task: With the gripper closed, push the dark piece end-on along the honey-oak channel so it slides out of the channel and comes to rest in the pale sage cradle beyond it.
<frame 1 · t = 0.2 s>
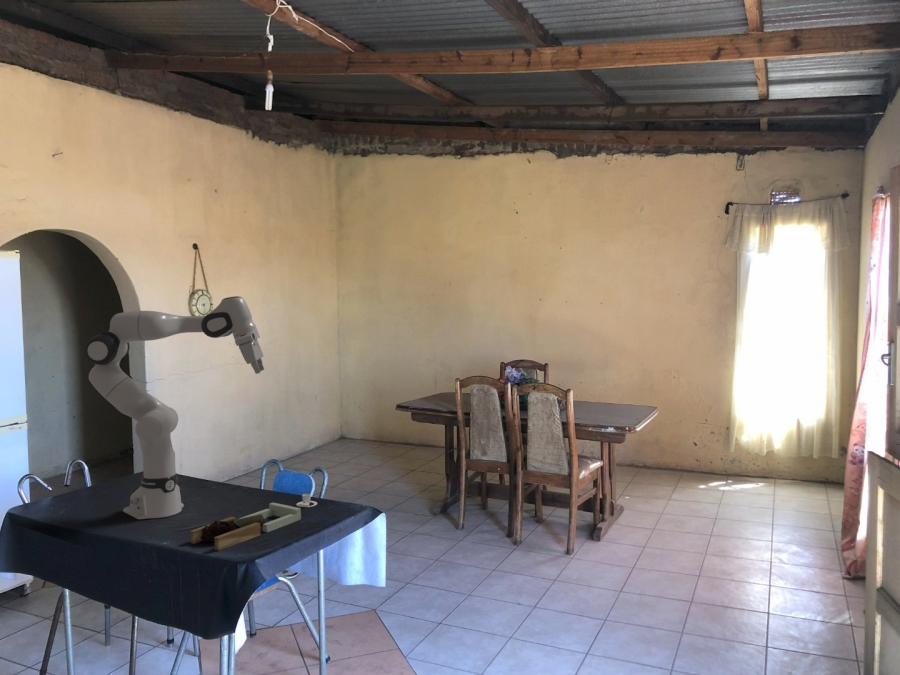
hand: (260, 371, 260), 52 cm above the table, tool tilted 20°, fingers open, 8 cm apart
oak channel: (226, 538, 229), on the table
dark piece: (234, 537, 232), on the table
sage cradle: (268, 523, 245), on the table
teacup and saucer: (298, 506, 266), on the table
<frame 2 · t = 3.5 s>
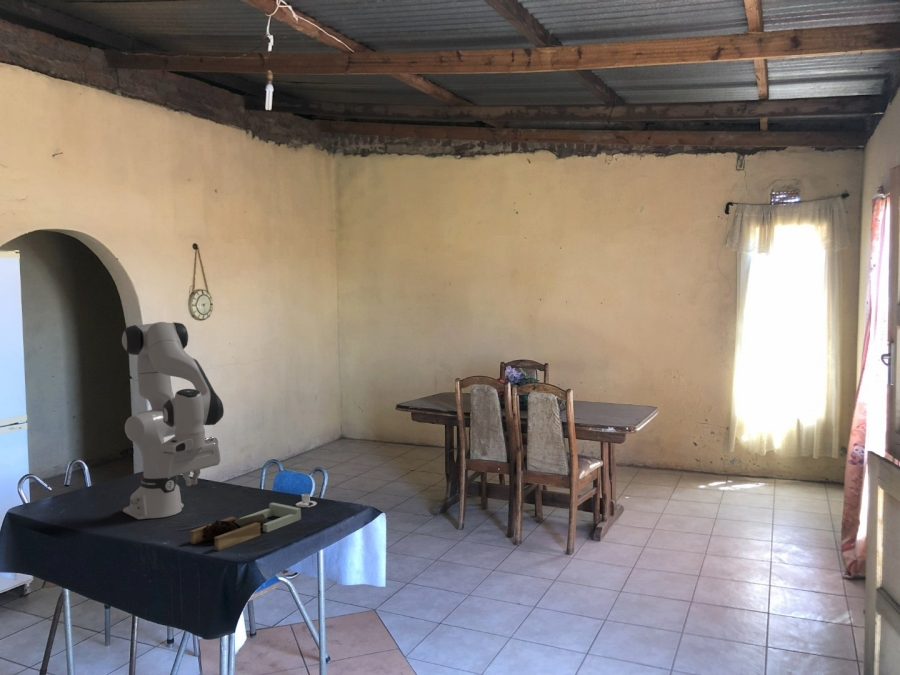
hand: (191, 485, 218), 21 cm above the table, tool pointing down, fingers closed
nothing on the table moved.
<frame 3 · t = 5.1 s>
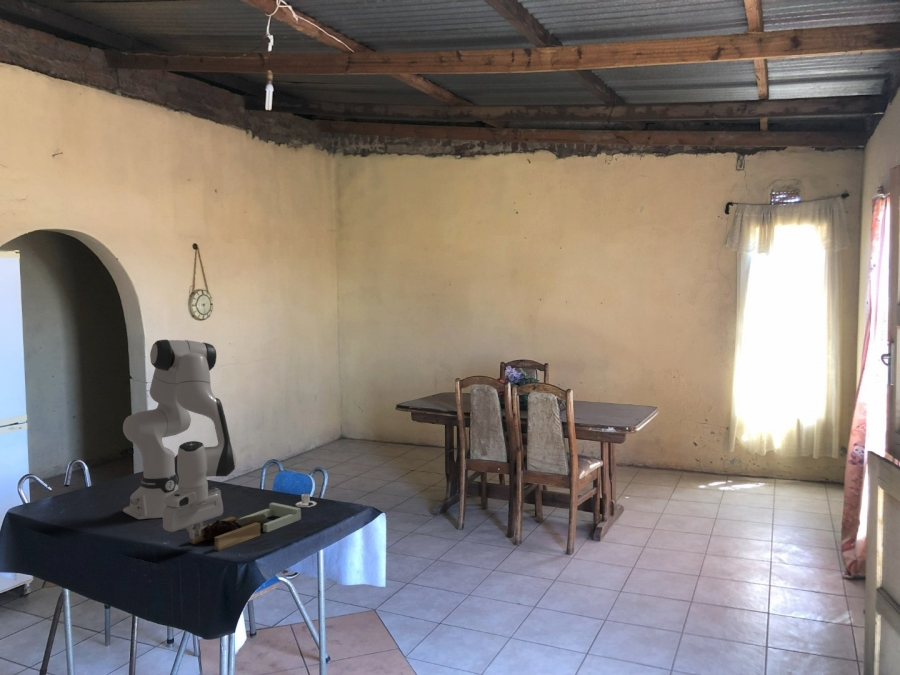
hand: (195, 537, 218), 4 cm above the table, tool pointing down, fingers closed
nothing on the table moved.
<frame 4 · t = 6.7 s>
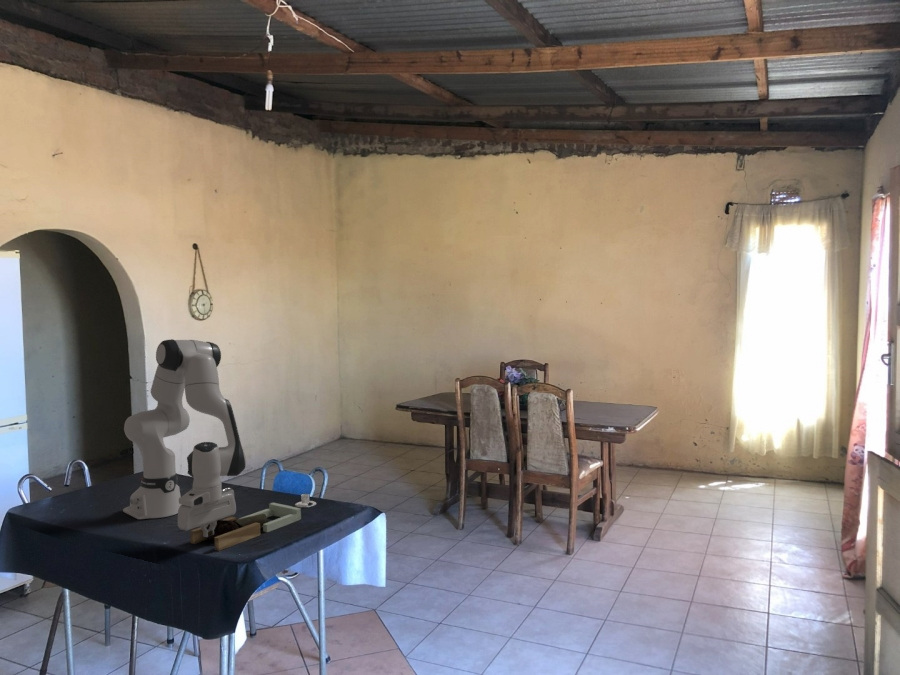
hand: (208, 535, 224), 3 cm above the table, tool pointing down, fingers closed
dark piece: (237, 536, 233), on the table, touching gripper, oak channel
everything else where it was.
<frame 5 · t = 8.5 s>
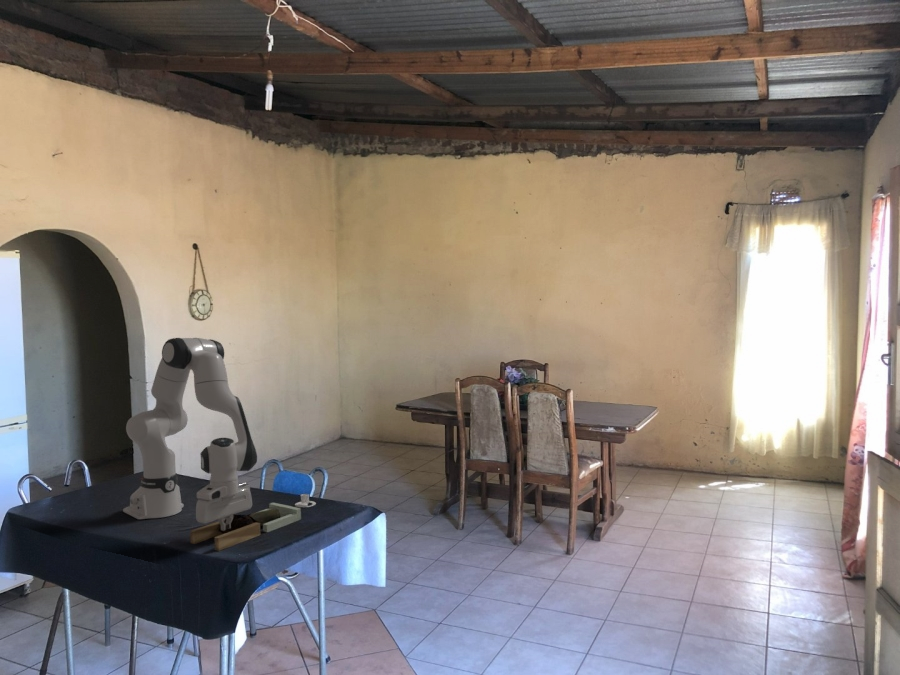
hand: (225, 529, 229), 3 cm above the table, tool pointing down, fingers closed
dark piece: (250, 530, 238), on the table, touching gripper
everything else where it was.
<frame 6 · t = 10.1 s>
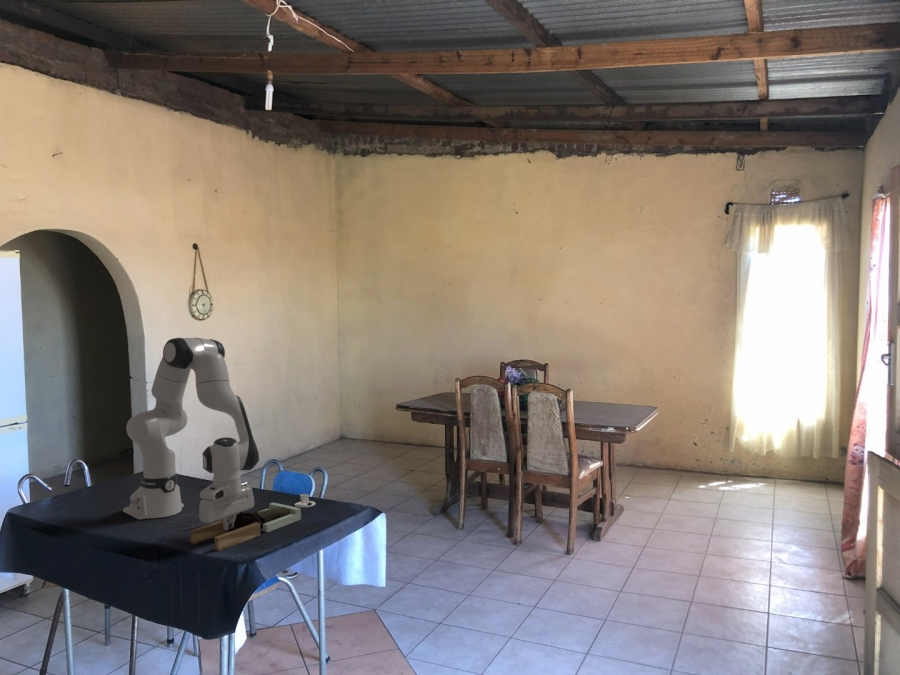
hand: (228, 528, 230), 3 cm above the table, tool pointing down, fingers closed
dark piece: (258, 528, 241), on the table
everything else where it was.
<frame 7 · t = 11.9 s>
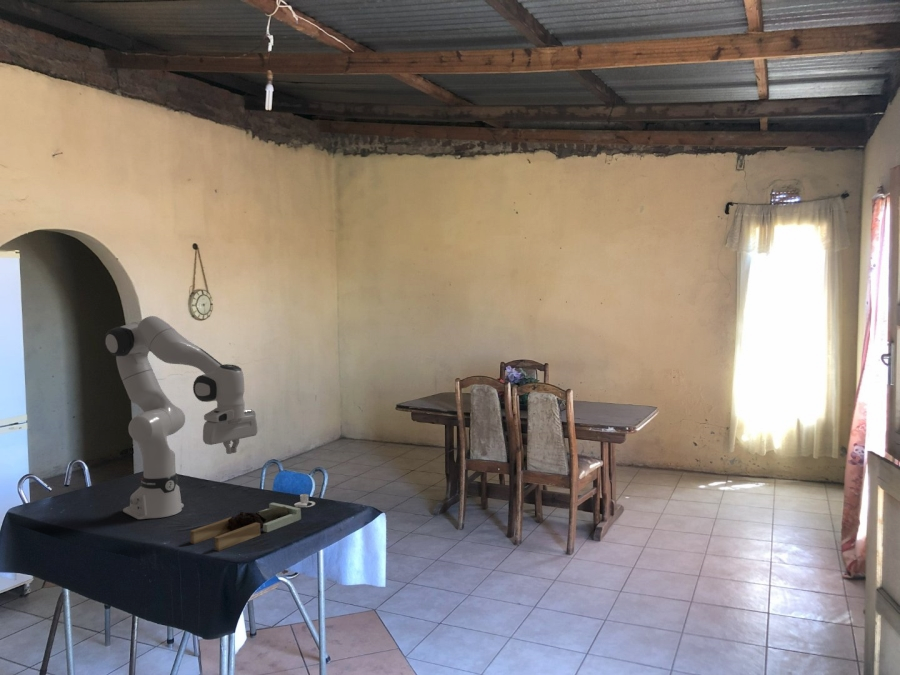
hand: (231, 453, 235), 27 cm above the table, tool pointing down, fingers closed
nothing on the table moved.
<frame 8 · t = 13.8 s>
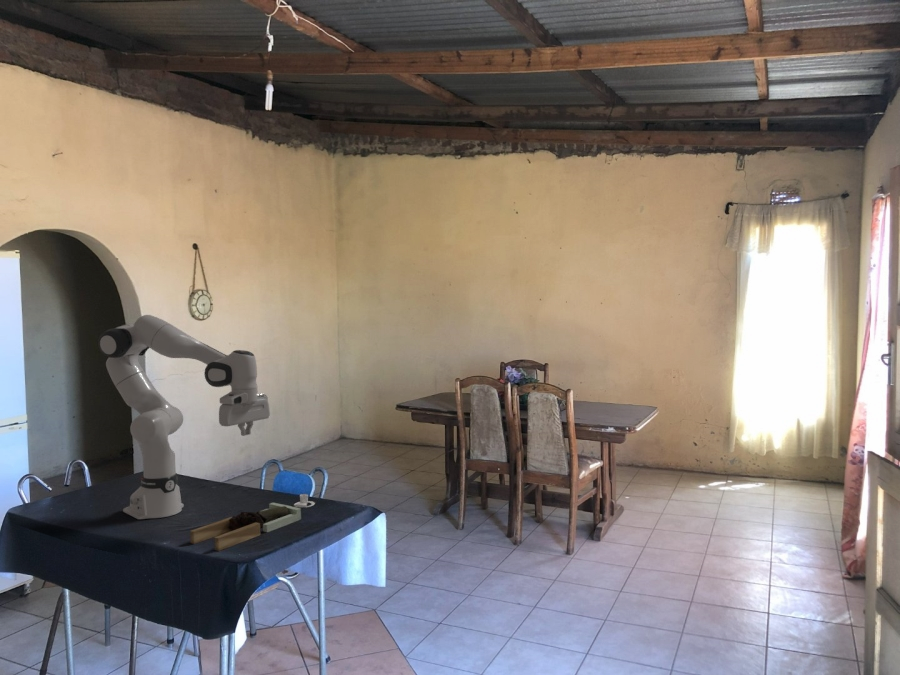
hand: (245, 434, 246), 31 cm above the table, tool pointing down, fingers closed
nothing on the table moved.
at the end: dark piece inside the target area (0.3 cm from its centre), on the table; dark piece moved 11.2 cm from its start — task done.
